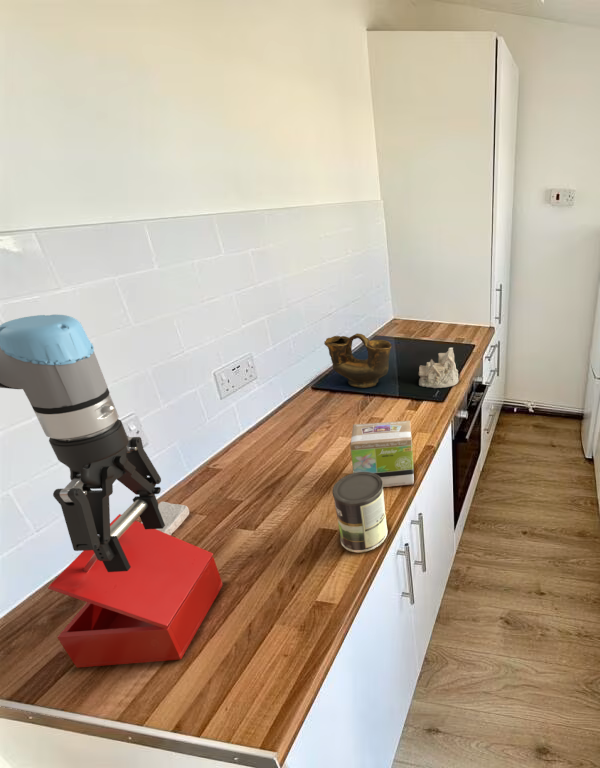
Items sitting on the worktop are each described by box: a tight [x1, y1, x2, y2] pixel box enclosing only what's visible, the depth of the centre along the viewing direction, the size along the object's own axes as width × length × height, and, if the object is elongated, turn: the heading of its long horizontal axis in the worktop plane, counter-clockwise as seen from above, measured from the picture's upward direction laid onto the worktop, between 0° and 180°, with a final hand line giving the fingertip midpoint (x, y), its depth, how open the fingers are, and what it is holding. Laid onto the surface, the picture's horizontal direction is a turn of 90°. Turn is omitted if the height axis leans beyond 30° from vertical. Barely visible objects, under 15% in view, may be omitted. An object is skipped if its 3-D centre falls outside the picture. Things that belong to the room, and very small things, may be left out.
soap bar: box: [140, 501, 190, 536], centre depth 96 cm, size 10×6×6 cm, turn 178°
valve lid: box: [47, 499, 214, 629], centre depth 70 cm, size 16×15×10 cm
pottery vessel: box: [324, 333, 393, 389], centre depth 163 cm, size 25×11×20 cm, turn 85°
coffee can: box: [331, 472, 389, 554], centre depth 95 cm, size 10×10×14 cm
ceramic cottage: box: [418, 347, 459, 389], centre depth 170 cm, size 16×16×15 cm
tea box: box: [349, 420, 415, 488], centre depth 114 cm, size 15×10×15 cm, turn 104°
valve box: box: [56, 556, 224, 669], centre depth 76 cm, size 16×15×8 cm
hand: (138, 547), depth 70 cm, fingers closed on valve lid, 8 cm apart
